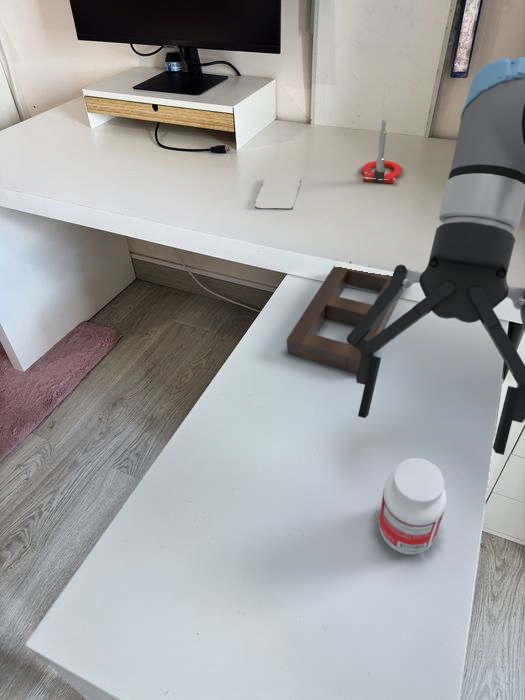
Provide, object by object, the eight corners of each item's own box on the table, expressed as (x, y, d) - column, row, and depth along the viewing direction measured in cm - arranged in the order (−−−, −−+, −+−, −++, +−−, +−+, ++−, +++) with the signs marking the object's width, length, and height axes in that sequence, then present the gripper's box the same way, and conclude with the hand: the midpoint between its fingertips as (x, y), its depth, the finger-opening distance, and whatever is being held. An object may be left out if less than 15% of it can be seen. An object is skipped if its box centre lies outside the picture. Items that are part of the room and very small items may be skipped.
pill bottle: (407, 493, 59) (419, 440, 51) (447, 535, 55) (467, 485, 47) (366, 522, 57) (372, 472, 49) (405, 567, 53) (418, 521, 46)
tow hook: (365, 164, 116) (358, 182, 110) (369, 105, 107) (362, 121, 101) (403, 166, 114) (397, 185, 108) (410, 106, 105) (405, 122, 99)
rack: (404, 287, 85) (406, 273, 83) (361, 375, 72) (362, 361, 70) (338, 272, 89) (338, 258, 87) (287, 353, 77) (286, 339, 75)
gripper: (606, 255, 50) (553, 459, 52) (359, 221, 58) (320, 399, 60) (633, 239, 43) (571, 477, 45) (348, 203, 51) (304, 406, 53)
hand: (427, 433), depth 52 cm, fingers open, 13 cm apart
